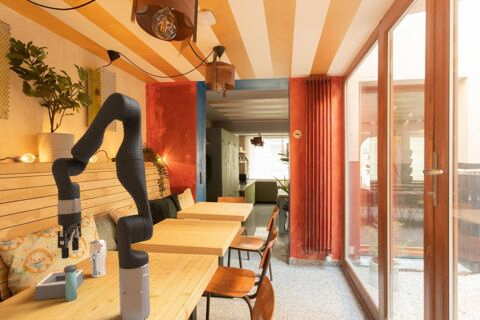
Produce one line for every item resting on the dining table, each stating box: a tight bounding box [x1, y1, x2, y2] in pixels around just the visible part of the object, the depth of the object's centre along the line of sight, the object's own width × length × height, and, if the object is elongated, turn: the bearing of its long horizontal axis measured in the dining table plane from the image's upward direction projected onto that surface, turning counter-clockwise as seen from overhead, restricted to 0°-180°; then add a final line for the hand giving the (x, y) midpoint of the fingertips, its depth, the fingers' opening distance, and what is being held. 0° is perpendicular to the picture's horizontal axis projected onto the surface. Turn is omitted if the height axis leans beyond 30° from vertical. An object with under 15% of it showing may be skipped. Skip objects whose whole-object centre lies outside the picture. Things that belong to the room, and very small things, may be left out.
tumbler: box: [88, 238, 108, 278], centre depth 122 cm, size 7×7×15 cm
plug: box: [63, 264, 78, 302], centre depth 101 cm, size 4×4×12 cm
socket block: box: [34, 269, 84, 301], centre depth 107 cm, size 12×12×5 cm
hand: (70, 253), depth 101 cm, fingers open, 8 cm apart
